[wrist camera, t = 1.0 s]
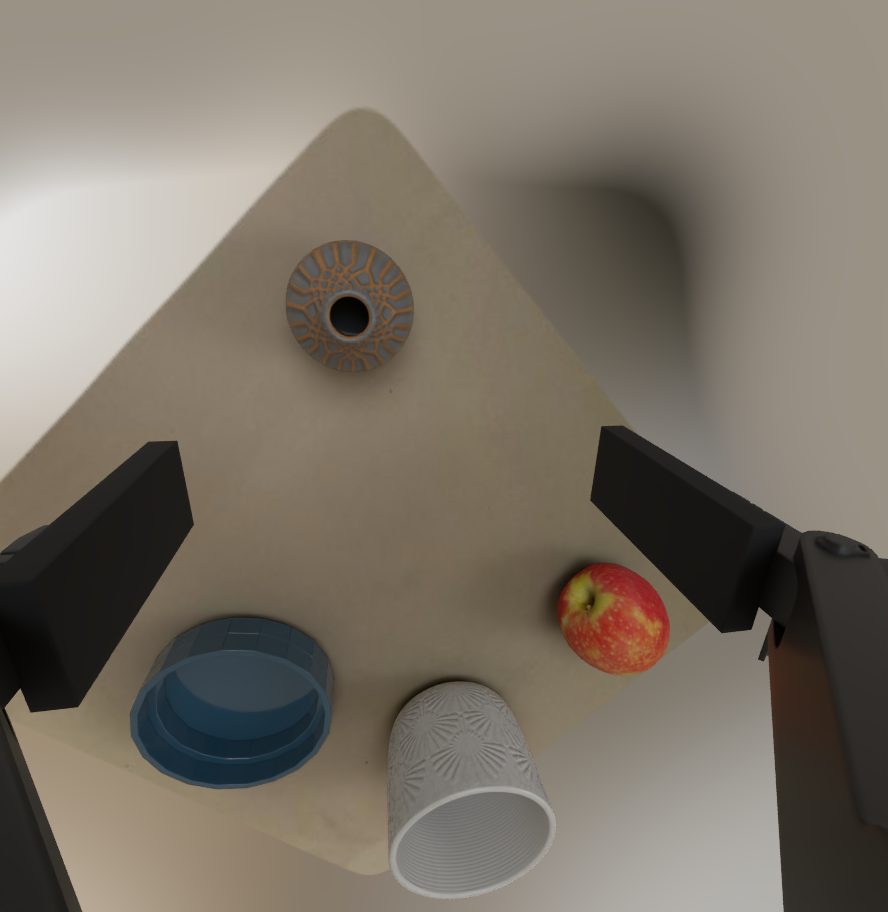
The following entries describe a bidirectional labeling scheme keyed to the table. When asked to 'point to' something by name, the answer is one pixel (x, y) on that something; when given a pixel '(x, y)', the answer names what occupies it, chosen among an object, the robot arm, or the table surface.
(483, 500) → the table surface
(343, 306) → the vase
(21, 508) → the table surface
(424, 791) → the planter
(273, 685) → the bowl
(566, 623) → the apple
